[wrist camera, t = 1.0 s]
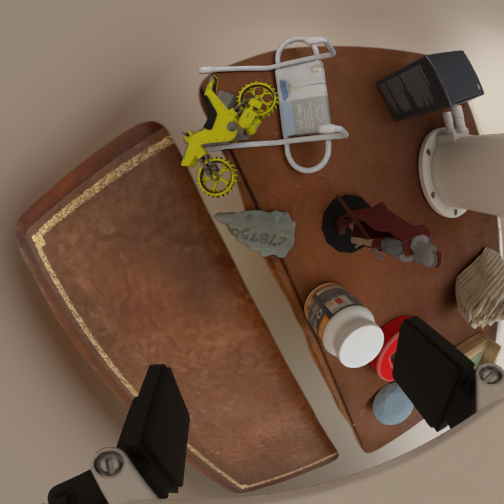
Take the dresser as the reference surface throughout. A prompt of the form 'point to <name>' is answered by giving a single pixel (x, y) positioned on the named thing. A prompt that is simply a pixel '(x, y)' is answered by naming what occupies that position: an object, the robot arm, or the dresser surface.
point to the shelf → (480, 349)
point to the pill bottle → (343, 325)
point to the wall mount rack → (297, 101)
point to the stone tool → (261, 230)
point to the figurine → (376, 231)
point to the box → (430, 85)
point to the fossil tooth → (482, 290)
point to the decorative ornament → (387, 349)
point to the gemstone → (391, 405)
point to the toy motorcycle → (225, 130)
